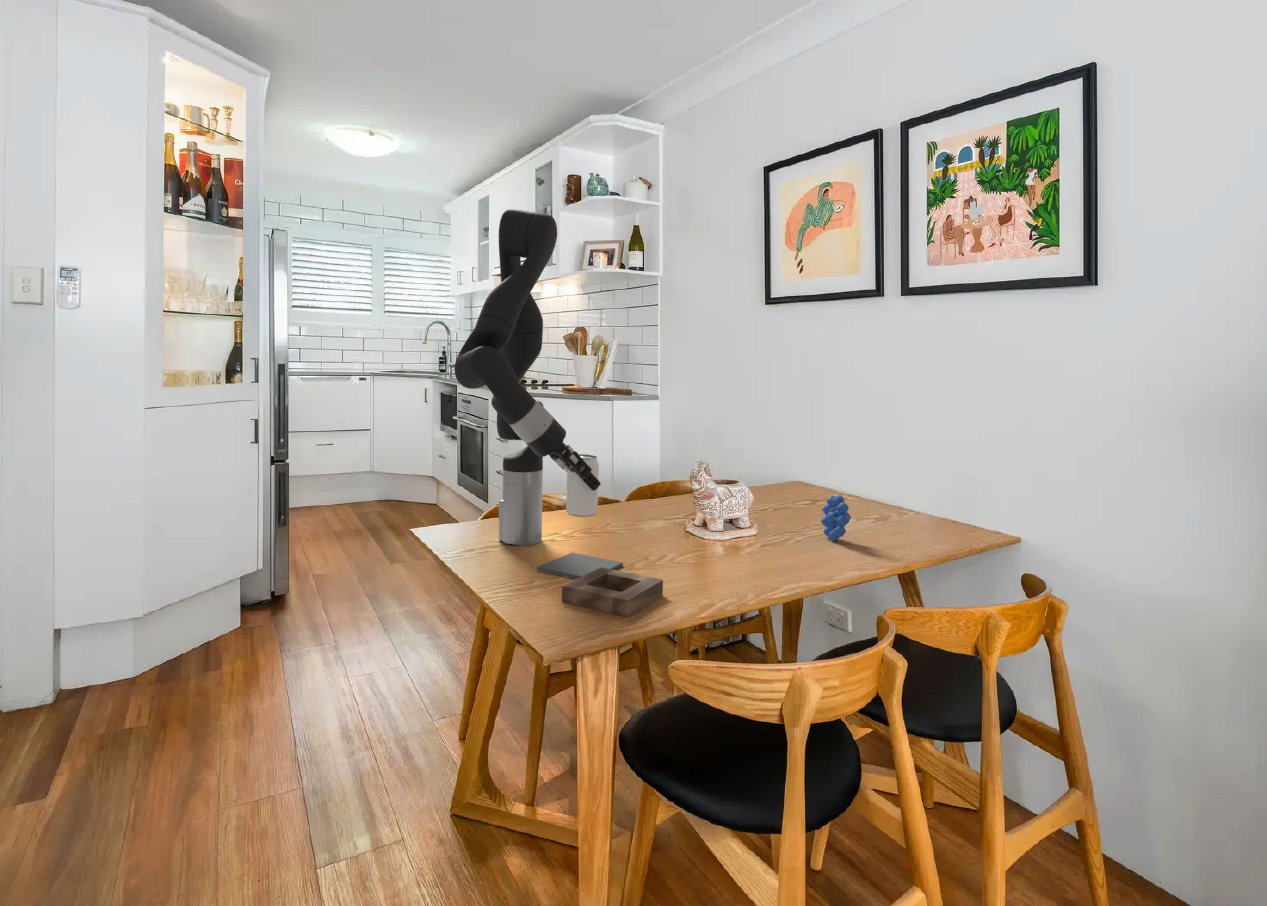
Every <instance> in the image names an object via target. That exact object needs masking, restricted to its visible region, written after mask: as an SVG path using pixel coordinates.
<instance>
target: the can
mask: <svg viewBox="0 0 1267 906" xmlns="http://www.w3.org/2000/svg"><path fill="white" fill-rule="evenodd" d="M578 455H579V456H580V457H581V458H582V459H583V460H584V461H585V463H586V464H587V465H588V466H589V467H590V468H591V469H592V471H591V473H592V474H593V475H594V476H595V477H596V478H597V479H598V480H599V476H600V475H599V473H600V472H599V471H600V468H599V467H600V464H599V461H598V459H597V458H598V456H597V455H593V454H585V453H584V454H582V453H578ZM570 468H572V467H571V466H570ZM583 470H584V468H583V467H582V468H581V469H580V472H582V471H583ZM598 502H599V487H598V488H597V489H596V490H595V491H594V490H592V489H591V488H590V487H589V486H588V485H587V484H586V483H585V482H584V481H583V480H582V479H580V478H579V477H578V476H577V475H576V474H575V473H574V472H573V473H571V472H569V471H568V470H567V472H566V502H565V504H566V505H565V507H566V508H565V509H566V510H565V511H566V513H567V514H568V515H569V516H573V517H581V518H583V517H584V518H585V517H586V518H587V517H592V516H595V515H596V514H597V513H598V504H599V503H598Z"/></svg>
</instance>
